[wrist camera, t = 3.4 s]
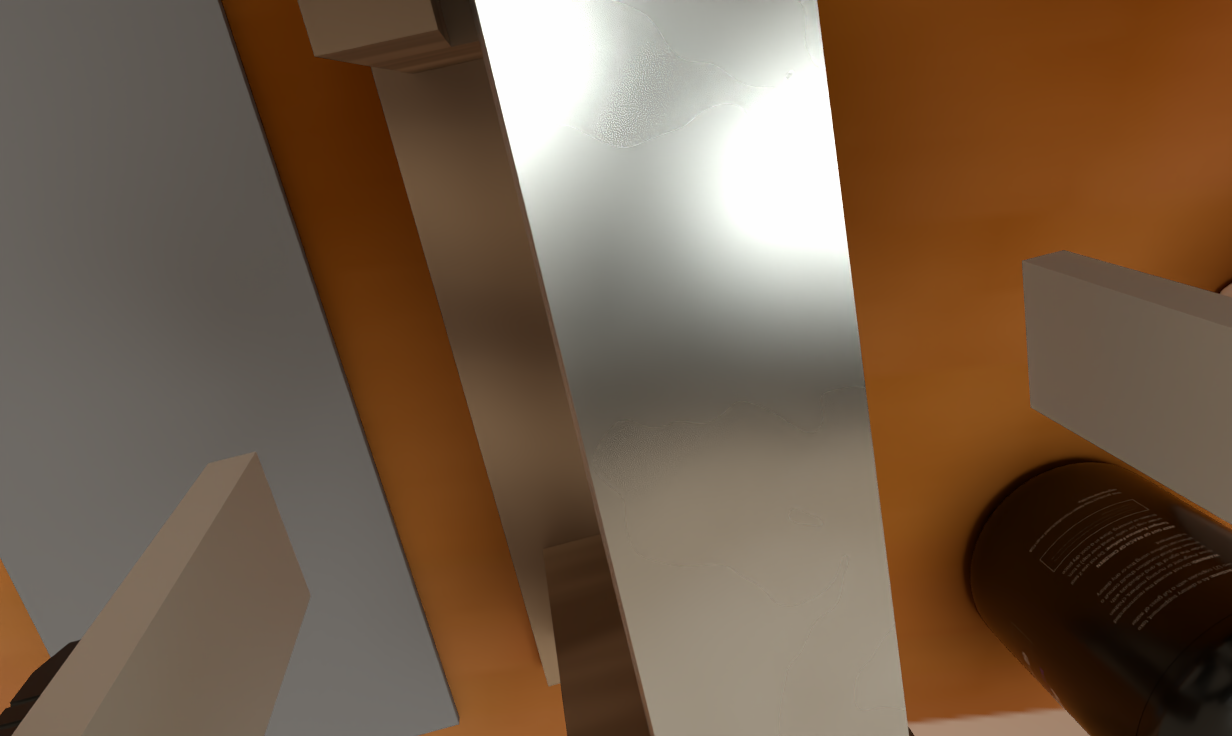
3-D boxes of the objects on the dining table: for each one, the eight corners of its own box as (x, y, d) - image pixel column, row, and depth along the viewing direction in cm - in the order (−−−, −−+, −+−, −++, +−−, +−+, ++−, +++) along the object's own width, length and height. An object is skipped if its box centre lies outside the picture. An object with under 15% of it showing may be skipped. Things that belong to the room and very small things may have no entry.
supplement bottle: (949, 650, 29) (1242, 1003, 18) (975, 460, 27) (1325, 726, 16) (1137, 633, 30) (1527, 958, 19) (1176, 449, 28) (1639, 691, 17)
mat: (-298, -49, 19) (-309, -52, 19) (173, -144, 20) (168, -147, 19) (134, 806, 27) (130, 814, 26) (459, 717, 27) (459, 724, 27)
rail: (408, -248, 11) (355, -489, 6) (636, -293, 11) (746, -560, 7) (690, 900, 18) (767, 1195, 13) (833, 858, 18) (959, 1134, 13)
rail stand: (321, -121, 20) (18, -516, 7) (660, -190, 21) (977, -676, 8) (545, 665, 27) (607, 1208, 14) (793, 598, 28) (1074, 1058, 15)
